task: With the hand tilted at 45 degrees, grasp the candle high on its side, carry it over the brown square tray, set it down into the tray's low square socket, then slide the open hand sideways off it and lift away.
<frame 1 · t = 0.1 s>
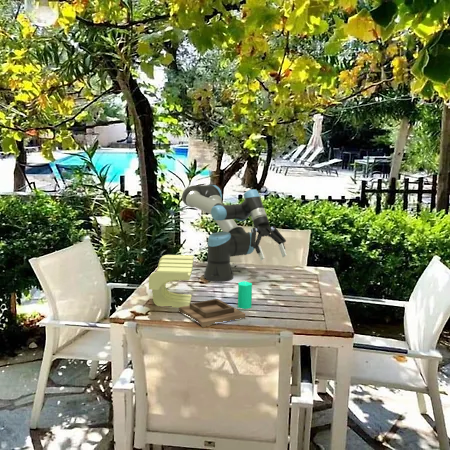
hand: (273, 257, 247), 15 cm above the table, tool tilted 35°, fingers open, 13 cm apart
brown square tray: (211, 315, 211), on the table
candle: (244, 307, 223), on the table
slatted curved stool: (172, 302, 227), on the table
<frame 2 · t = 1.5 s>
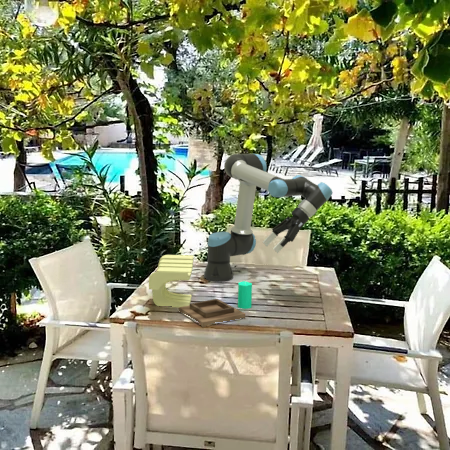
hand: (269, 247, 221), 26 cm above the table, tool tilted 45°, fingers open, 13 cm apart
nothing on the table moved.
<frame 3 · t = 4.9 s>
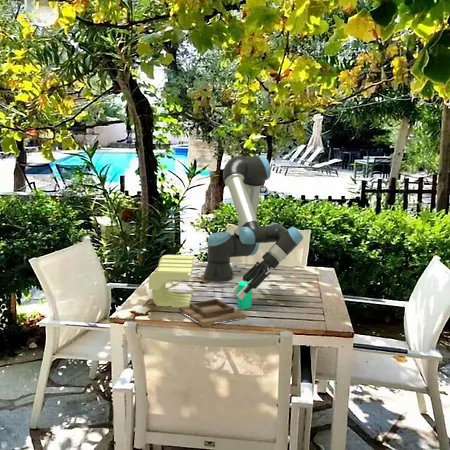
hand: (236, 295, 221), 5 cm above the table, tool tilted 45°, fingers closed on candle, 6 cm apart
candle: (244, 306, 223), on the table, touching gripper
everything else where it was.
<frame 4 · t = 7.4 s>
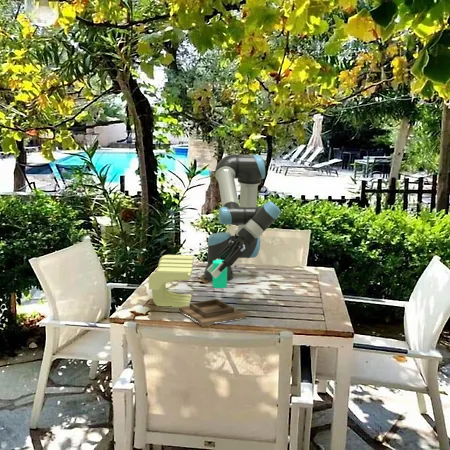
hand: (211, 274, 208), 18 cm above the table, tool tilted 45°, fingers closed on candle, 6 cm apart
candle: (219, 286, 210), point 12 cm above the table, touching gripper
everything else where it was.
when the fingers open (8 cm above the table, at t = 10.2 s): candle stays where it is, resting on brown square tray.
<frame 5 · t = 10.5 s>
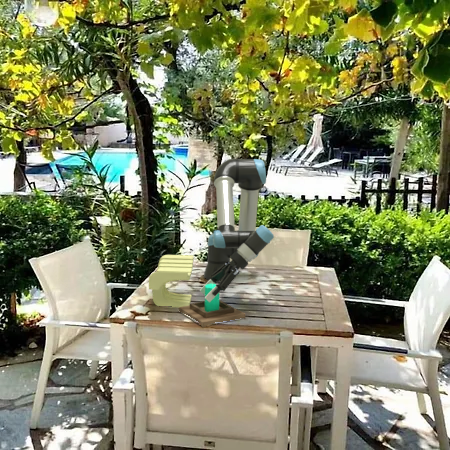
hand: (204, 296, 209), 8 cm above the table, tool tilted 45°, fingers open, 9 cm apart
candle: (211, 310, 211), point 2 cm above the table, touching brown square tray
everything else where it was.
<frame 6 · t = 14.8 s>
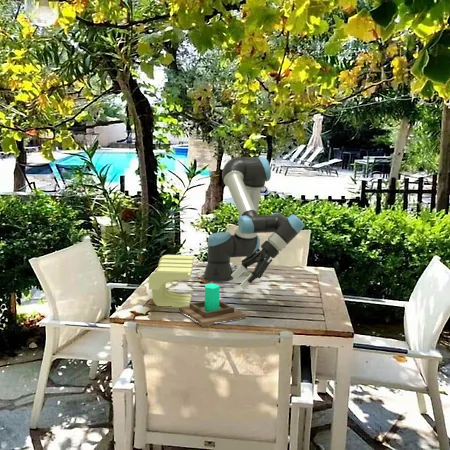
hand: (237, 282, 212), 13 cm above the table, tool tilted 45°, fingers open, 13 cm apart
nothing on the table moved.
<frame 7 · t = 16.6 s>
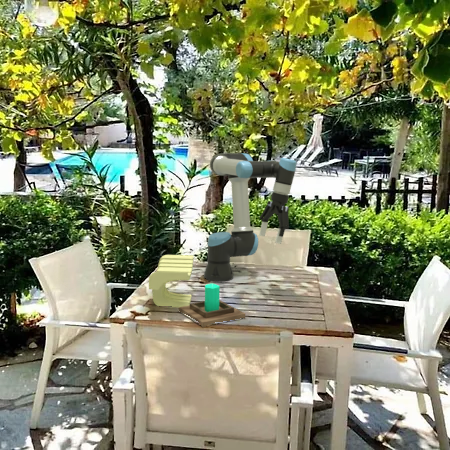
hand: (269, 239, 229), 28 cm above the table, tool pointing down, fingers open, 13 cm apart
nothing on the table moved.
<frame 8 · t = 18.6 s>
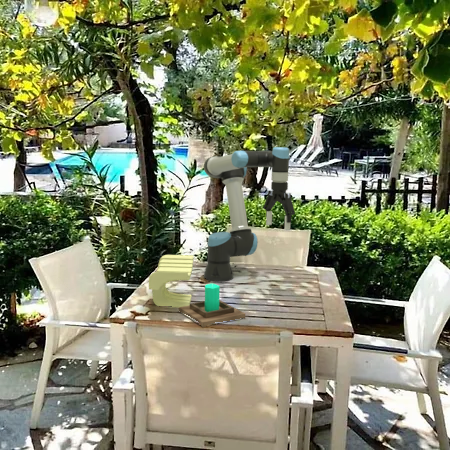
hand: (277, 227, 237), 32 cm above the table, tool pointing down, fingers open, 13 cm apart
nothing on the table moved.
at the end: candle 0.1 cm off-centre on the brown square tray, point 1.8 cm above the brown square tray's base; candle tilted 0°; the gripper is holding nothing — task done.
